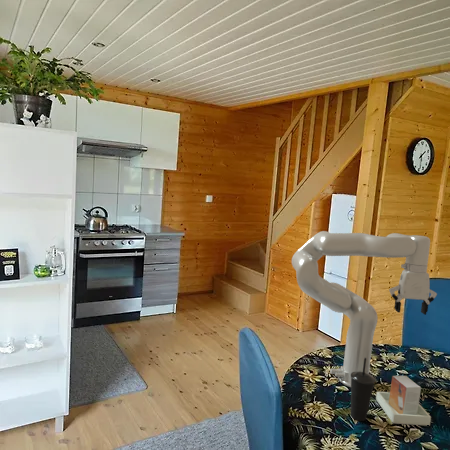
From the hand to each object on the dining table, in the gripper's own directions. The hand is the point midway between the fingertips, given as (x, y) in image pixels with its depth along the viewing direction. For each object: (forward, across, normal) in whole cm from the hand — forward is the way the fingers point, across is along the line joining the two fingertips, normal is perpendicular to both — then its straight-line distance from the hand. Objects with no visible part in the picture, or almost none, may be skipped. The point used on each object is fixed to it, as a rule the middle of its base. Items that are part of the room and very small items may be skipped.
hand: (410, 312), depth 151 cm
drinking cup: (+29, -24, -26) cm, 45 cm away
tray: (+29, -7, -20) cm, 36 cm away
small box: (+29, -7, -20) cm, 35 cm away
